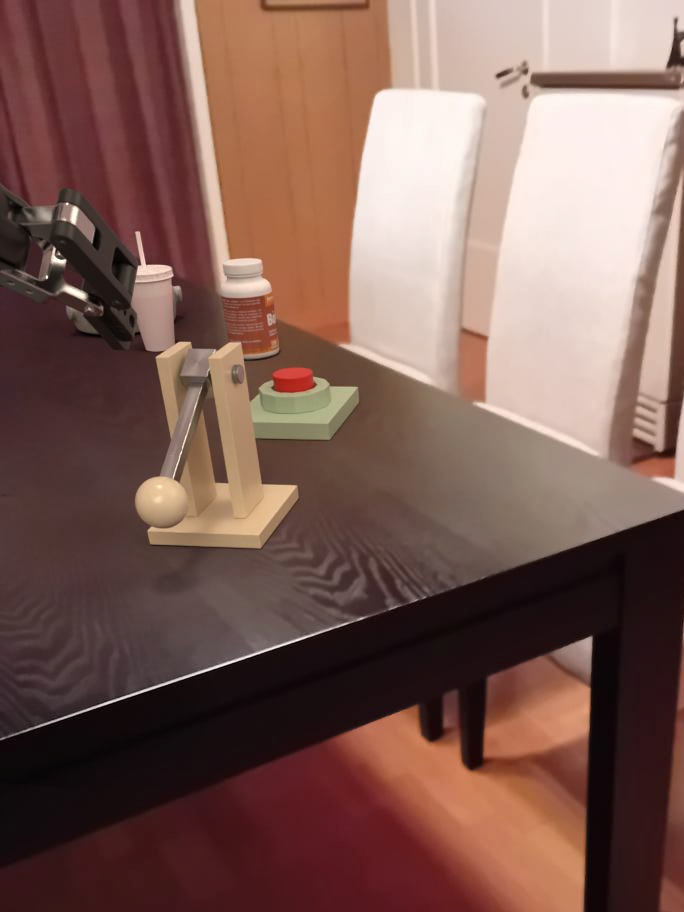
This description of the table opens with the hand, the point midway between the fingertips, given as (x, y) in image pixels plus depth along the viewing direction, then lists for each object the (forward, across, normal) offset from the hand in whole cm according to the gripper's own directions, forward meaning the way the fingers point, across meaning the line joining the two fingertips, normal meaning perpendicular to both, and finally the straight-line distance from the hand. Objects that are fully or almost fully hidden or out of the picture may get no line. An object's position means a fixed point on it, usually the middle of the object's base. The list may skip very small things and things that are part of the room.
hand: (52, 334), depth 56 cm
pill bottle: (+63, +15, -35) cm, 73 cm away
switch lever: (+19, 0, -2) cm, 19 cm away
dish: (+73, +38, -44) cm, 93 cm away
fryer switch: (+27, 0, 0) cm, 27 cm away
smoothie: (+65, +28, -36) cm, 79 cm away
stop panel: (+45, +2, -17) cm, 48 cm away
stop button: (+43, +2, -20) cm, 47 cm away
